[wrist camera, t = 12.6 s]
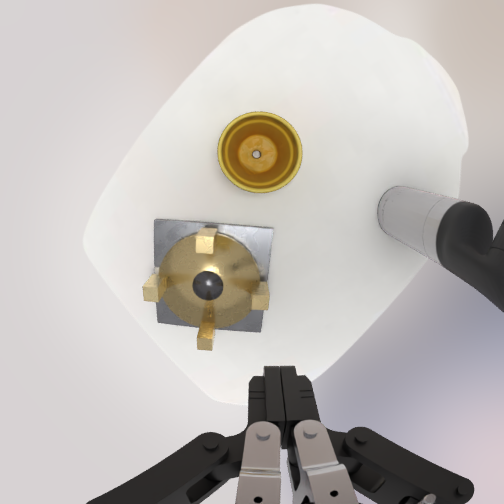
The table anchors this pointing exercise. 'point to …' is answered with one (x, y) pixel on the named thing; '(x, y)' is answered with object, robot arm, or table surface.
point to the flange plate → (248, 236)
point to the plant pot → (268, 144)
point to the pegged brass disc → (208, 283)
